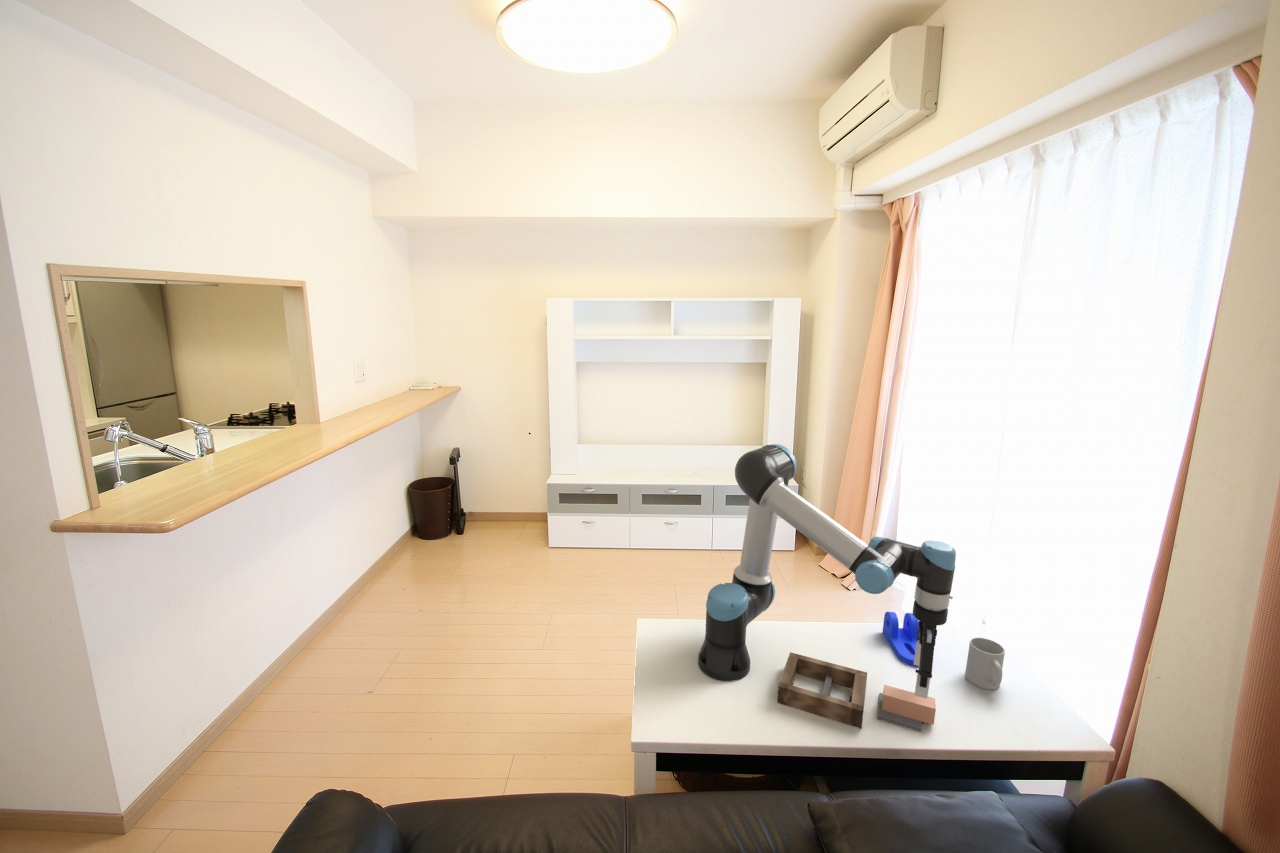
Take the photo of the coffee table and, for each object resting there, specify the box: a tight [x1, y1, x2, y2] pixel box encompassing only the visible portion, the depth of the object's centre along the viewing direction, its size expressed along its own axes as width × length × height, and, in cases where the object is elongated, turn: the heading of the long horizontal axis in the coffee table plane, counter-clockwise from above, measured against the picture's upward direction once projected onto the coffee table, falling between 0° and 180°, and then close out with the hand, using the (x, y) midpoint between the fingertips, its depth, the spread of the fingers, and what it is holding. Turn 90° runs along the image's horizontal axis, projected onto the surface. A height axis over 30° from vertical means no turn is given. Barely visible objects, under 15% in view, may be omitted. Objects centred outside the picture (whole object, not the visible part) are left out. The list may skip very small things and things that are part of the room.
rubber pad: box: [877, 692, 923, 733], centre depth 143 cm, size 10×10×1 cm
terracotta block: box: [882, 684, 937, 726], centre depth 142 cm, size 12×4×4 cm, turn 65°
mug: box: [964, 637, 1006, 691], centre depth 154 cm, size 12×8×11 cm
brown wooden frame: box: [776, 651, 868, 730], centre depth 149 cm, size 21×17×5 cm
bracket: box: [882, 611, 919, 668], centre depth 171 cm, size 18×8×9 cm, turn 175°
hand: (920, 680), depth 140 cm, fingers open, 13 cm apart
